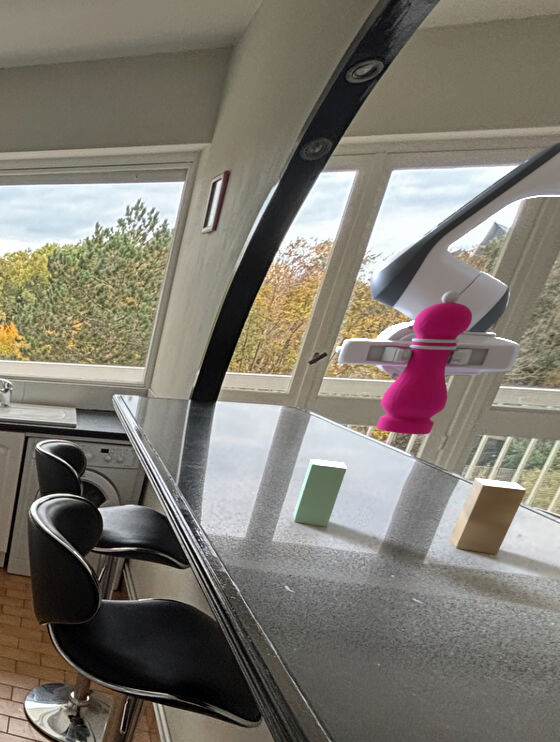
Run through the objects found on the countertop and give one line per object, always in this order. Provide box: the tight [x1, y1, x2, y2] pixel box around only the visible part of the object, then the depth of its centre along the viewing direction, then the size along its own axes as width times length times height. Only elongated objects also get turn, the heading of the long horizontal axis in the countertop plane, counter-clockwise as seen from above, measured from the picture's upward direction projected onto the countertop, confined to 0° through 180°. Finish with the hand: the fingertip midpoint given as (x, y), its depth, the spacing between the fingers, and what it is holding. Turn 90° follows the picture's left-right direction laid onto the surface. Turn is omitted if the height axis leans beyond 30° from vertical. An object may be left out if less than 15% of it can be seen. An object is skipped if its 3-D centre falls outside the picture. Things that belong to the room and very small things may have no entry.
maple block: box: [449, 477, 527, 556], centre depth 79 cm, size 4×4×9 cm
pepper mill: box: [376, 291, 472, 435], centre depth 87 cm, size 7×7×20 cm
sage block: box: [292, 458, 347, 528], centre depth 88 cm, size 4×4×9 cm
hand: (431, 357), depth 86 cm, fingers closed on pepper mill, 4 cm apart
